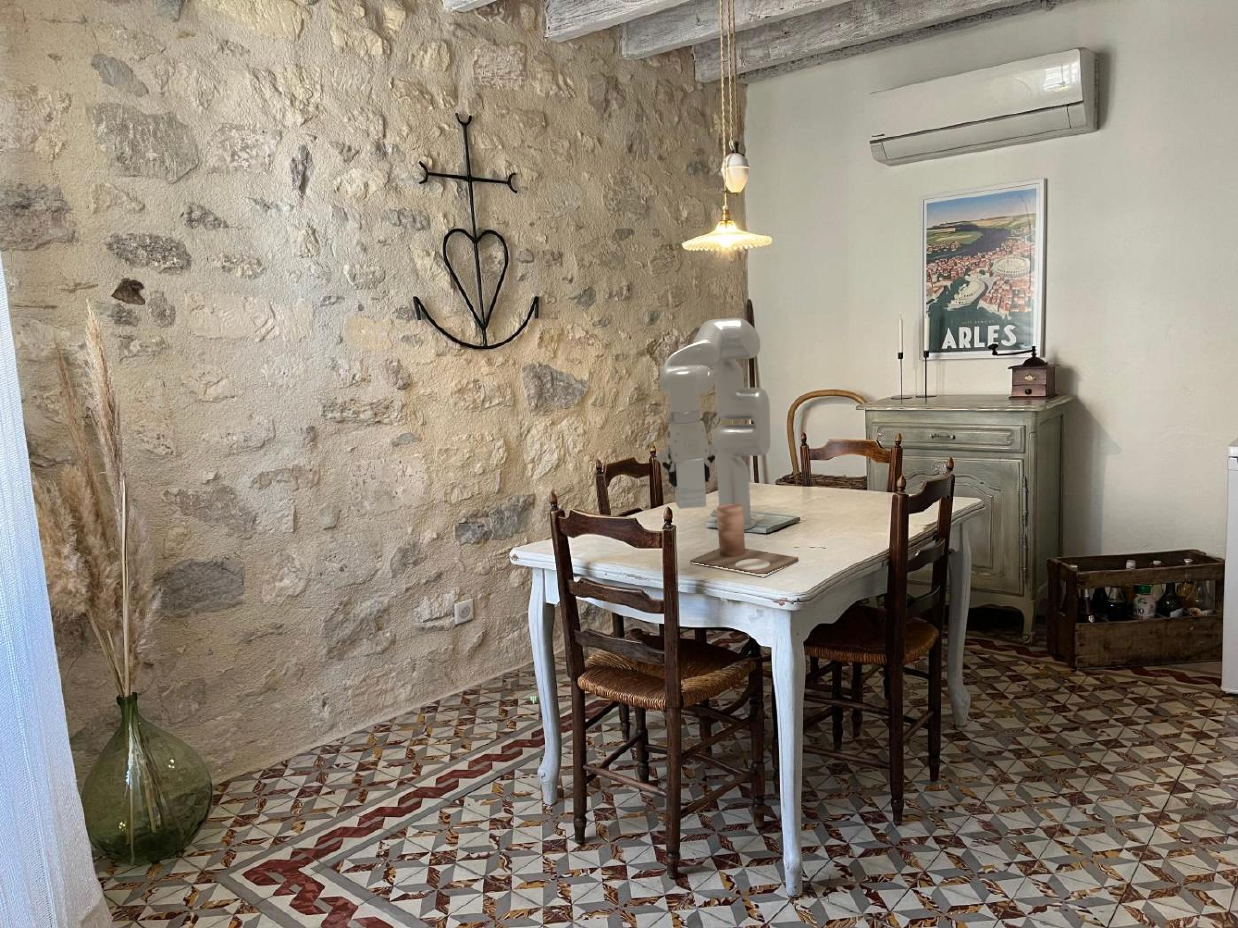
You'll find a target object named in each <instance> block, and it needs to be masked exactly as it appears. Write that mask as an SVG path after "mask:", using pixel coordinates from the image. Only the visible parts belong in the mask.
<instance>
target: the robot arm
mask: <svg viewBox="0 0 1238 928" xmlns="http://www.w3.org/2000/svg"><path fill="white" fill-rule="evenodd" d="M760 350H761V339H760V334H759V333H758V332H757V330H756V329H755V327H754V326H752V325H751V323H749V321H747V320H746V319H744V318H742V317H739V318H738V317H730V318H715V319H710V320H707V321H704V322H703V323H702V324H701V325H700V327H699V329H698V331H697V333H696V335H695V338H694V339H693V341H692V343H689V344H688V345H686V346H685V347H683V348H680V349H679V350H677V351H675V352H674V353H672V354H671V355H669V357H667V359H666V360H665V362H664V364H663V366H662V368H661V371H660V374H659V380H658V384H659V388H660V389H661V391H662V392H663V393H665V394H667V395H668V398H669V399H668V400H669V414H667V415H665V417H664V418H665V421H666V422H670V423H668V429H667V438H666V439H667V440H666V441H667V442H666V444H667V445H666V448H665V449H663V451H661V452H660V453H659V454H658V455H657V456H656V458H655V459H656V460H657V461H658V462H659V463H660V465H661V466H662V467H663V468H664V469H665V470H666V471H667V472H668V473H667V475H668V476H667V477H668V483H669V484H670V485H671V487H673V488H675V487H676V486H677V478H676V472H675V471H674V470H675V468H676V464H675V463H681V462H683V461H687V460H693V459H702V458H703V459H704V472H705V483H709V481H710V477H711V473H710V470H711V469H710V467H711V466H712V463H713V462H714V460H715V464H716V475H717V491H718V496H717V497H718V506H720V505H725V504H739V505H742V506H743V521H744V531H745V530H750V529H753V528H755V527H756V525H757V520H756V519H755V518H753V517H752V516H751V515H752V513H751V494H750V479H749V476H750V475H749V467H748V466H747V463H746V462H745V460H743V458H742V456H743V457H744V456H745V457H747V456H748V457H749V456H751V457H752V456H757V457H758V456H764V455H767V454H768V452H769V451H770V447H771V411H770V410H771V409H770V407H771V406H770V399H769V394H768V393H767V391H766V390H765V389H763V388H761V387H745V385H744V382H745V380H744V370H743V368H742V366H741V365H740V363H738V361H737V360H742V359H743V360H744V359H745V360H747V359H748V360H749V359H753V358H756V357H757V356H758V355H759V353H760ZM711 367H712V368H711ZM714 383H715V385H714ZM714 386H715V407H716V413H717V416H718V417H719V418H720V419H722V420H726V421H730V420H735V421H737V420H739V421H741V420H745V421H747V420H751V421H752V422H753V423H732V424H731V423H730V424H729V423H728V424H722V425H718V426H717V427H715V428H714V430H713V431H712V434H711V443H712V444H710V443H709V441H708V435H707V430H706V427H705V426H706V425H705V422H704V421H702V420H701V415H700V414H701V412H700V411H701V410H700V400H699V399H700V396H699V395H702V394H706V393H708V392H710V391H711V389H712V388H713V387H714ZM666 457H667V458H668V460H669V461H668V463H667V462H666V460H665V458H666ZM710 517H712V518H716V520H717V521H716V520H715V523H714V525H715V528H716V529H718V517H717V509H712V511H711V513H710Z"/></svg>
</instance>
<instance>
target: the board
mask: <svg viewBox="0 0 1238 928" xmlns="http://www.w3.org/2000/svg"><path fill="white" fill-rule="evenodd" d="M716 510H717V517H718V528H717V531H718V533H717V534H718V548H715V549H714V550H712V551H709V552H707V553H705V554H702V555H699V556H698V557H697V556H696V557H695V558H692V559H690V563H691V562H693V563H699V564H704V565H709V566H718V567H723V568H728V569H734V570H739V571H744V572H750V573H755V574H768V573H770V572H772V571H775V570H777V569H780V568H782V567H785V566H787V567H789V566H791V565H793V564H795V563H798V562H799V557H798V556H794V555H793V556H791V555H785V554H779V553H774V552H768V551H762V550H757V549H756V550H755V549H751V548H746V546H745V545H746V544H745V543H746V542H745V530H744V521H743V506H742V505H739V504H725V505H720V506H719V505H718V506H717V507H716ZM717 517H716V518H717ZM785 568H786V567H785Z"/></svg>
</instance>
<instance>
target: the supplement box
mask: <svg viewBox="0 0 1238 928" xmlns="http://www.w3.org/2000/svg"><path fill="white" fill-rule="evenodd" d="M675 464H676V468H675V470H674V471H675V472H676V478H677V486H676V487H674V496H675V504H676V506H677V507H678V509H680V510H681V509H692V508H702V507H703V508H704V507H705V508H706V507H707V495H706V492H707V491H706V482H705V472H704V459H703V458H702V459H693V460H687V461H683V462H681V463H675Z"/></svg>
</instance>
